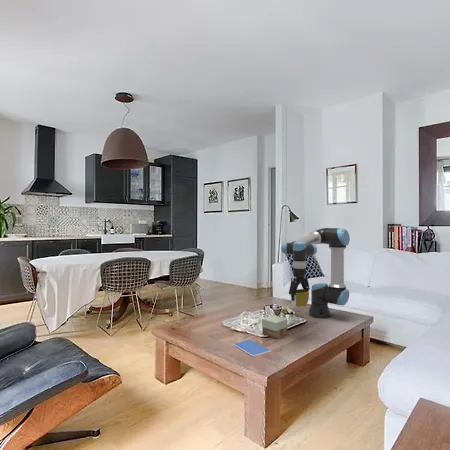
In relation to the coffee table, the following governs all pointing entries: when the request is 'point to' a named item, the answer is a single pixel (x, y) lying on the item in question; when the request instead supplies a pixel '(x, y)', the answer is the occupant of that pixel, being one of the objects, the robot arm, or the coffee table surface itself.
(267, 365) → the coffee table surface
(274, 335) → the bottom block
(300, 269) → the robot arm
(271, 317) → the top block
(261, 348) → the tablet computer
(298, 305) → the flower pot
